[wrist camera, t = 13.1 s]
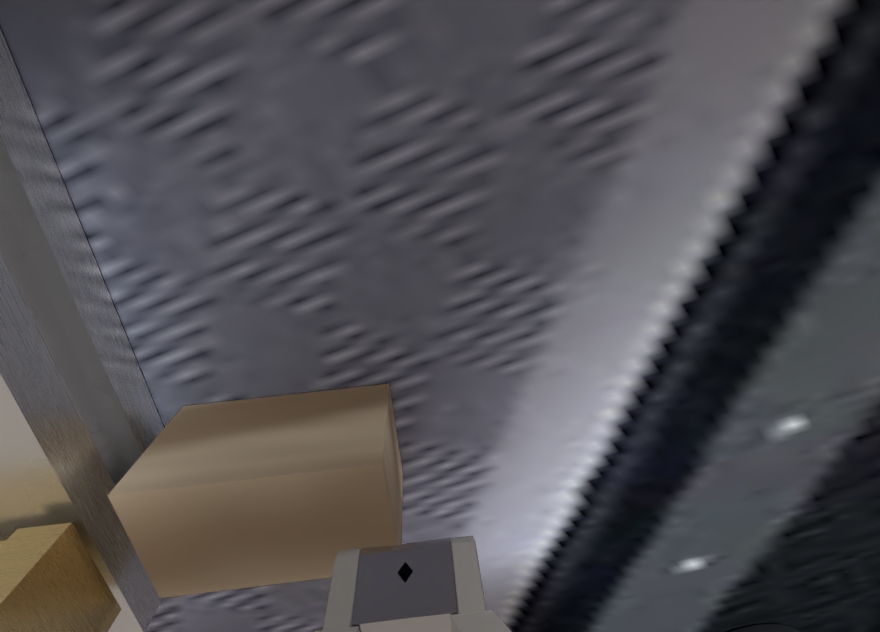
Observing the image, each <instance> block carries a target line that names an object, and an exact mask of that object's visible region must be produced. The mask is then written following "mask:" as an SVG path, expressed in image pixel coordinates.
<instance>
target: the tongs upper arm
mask: <svg viewBox="0 0 880 632" xmlns="http://www.w3.org/2000/svg"><path fill="white" fill-rule="evenodd" d="M114 487H115V484H114V482H113V480H112V478H111V476H110V474H109V472H108V470H107V468H106V466H105V464H104V462H103V460H102V458H101V456H100V454H99V452H98V450H97V448H96V446H95V444H94V442H93V440H92V438H91V436H90V433H89V431H88V429H87V427H86V425H85V423H84V421H83V419H82V417H81V415H80V413H79V411H78V409H77V407H76V405H75V403H74V401H73V399H72V397H71V395H70V393H69V391H68V389H67V387H66V385H65V383H64V381H63V379H62V377H61V375H60V373H59V371H58V369H57V366H56V364H55V362H54V360H53V358H52V356H51V354H50V352H49V350H48V348H47V346H46V344H45V342H44V340H43V338H42V336H41V334H40V332H39V330H38V328H37V326H36V324H35V322H34V320H33V318H32V316H31V314H30V312H29V310H28V308H27V306H26V304H25V301H24V299H23V297H22V295H21V293H20V291H19V289H18V287H17V285H16V283H15V281H14V279H13V277H12V275H11V273H10V271H9V269H8V267H7V265H6V263H5V261H4V259H3V257H2V255H1V253H0V541H5V540H7V539H8V538H9V537H10V536H11V535H12V534H13V533H14V532H15V531H16V530H17V529H20V528H29V527H37V526H46V525H54V524H63V523H72V524H73V525H74V527H75V529H76V531H77V532H78V534H79V536H80V537H81V539H82V541H83V543H84V544H85V546H86V548H87V550H88V551H89V553H90V555H91V557H92V558H93V560H94V562H95V564H96V565H97V567H98V569H99V571H100V572H101V574H102V576H103V578H104V579H105V581H106V583H107V585H108V586H109V588H110V590H111V592H112V593H113V595H114V597H115V599H116V600H117V602H118V604H119V606H120V607H121V611H120V613H119V614H118V616H117V617H116V619H115V621H114V622H113V624H112V626H111V627H110V629H109V631H108V632H145V631H146V629H147V627H148V625H149V623H150V621H151V619H152V618H153V616H154V614H155V612H156V610H157V608H158V606H159V605H160V603H161V601H162V599H163V598H160V597H159V595H158V593H157V591H156V589H155V587H154V585H153V583H152V582H151V580H150V578H149V576H148V574H147V572H146V570H145V568H144V566H143V564H142V562H141V560H140V558H139V556H138V554H137V552H136V550H135V548H134V546H133V544H132V542H131V540H130V539H129V537H128V535H127V533H126V531H125V529H124V527H123V525H122V523H121V521H120V519H119V517H118V515H117V513H116V511H115V509H114V507H113V505H112V503H111V501H110V499H109V497H108V494H109V493H110V492H111V491H112V490H113V488H114Z"/></svg>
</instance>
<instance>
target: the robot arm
mask: <svg viewBox="0 0 880 632" xmlns="http://www.w3.org/2000/svg"><path fill="white" fill-rule="evenodd" d="M451 548H452V549H451ZM452 558H453V559H452ZM453 568H454V569H453ZM315 632H511V630H510V629H509V628H508V627H507V626H506V624H505V623H504V622H503V621H502V620H501V618H500V617H499V616H498V615H497V614H496V612H495V611H494V610H486V605H485V599H484V593H483V587H482V581H481V574H480V568H479V562H478V556H477V550H476V543H475V539H474V537H473V536H465V537H457V538H451V541H450V538H444V539H436V540H429V541H421V542H413V543H406V544H405V545H393V546H381V547H369V548H359V549H349V550H339V551H338V553H337V555H336V557H335V561H334V567H333V573H332V578H331V584H330V589H329V595H328V601H327V606H326V612H325V617H324V623H323V629H322V630H319V631H315Z"/></svg>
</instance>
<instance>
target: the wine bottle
mask: <svg viewBox="0 0 880 632" xmlns="http://www.w3.org/2000/svg"><path fill="white" fill-rule="evenodd" d="M729 632H800V631H798V630H797V629H795V628H793V627H789V626H784V625H780V624H756V625H751V626H747V627H743V628H738V629H734V630H732V631H729Z"/></svg>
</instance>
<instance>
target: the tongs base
mask: <svg viewBox="0 0 880 632" xmlns="http://www.w3.org/2000/svg"><path fill="white" fill-rule="evenodd" d="M0 253H1V255H2V257H3V259H4V261H5V263H6V265H7V267H8V269H9V271H10V273H11V275H12V277H13V279H14V281H15V283H16V285H17V287H18V289H19V291H20V293H21V295H22V297H23V299H24V301H25V304H26V306H27V308H28V310H29V312H30V314H31V316H32V318H33V320H34V322H35V324H36V326H37V328H38V330H39V332H40V334H41V336H42V338H43V340H44V342H45V344H46V346H47V348H48V350H49V352H50V354H51V356H52V358H53V360H54V362H55V364H56V366H57V369H58V371H59V373H60V375H61V377H62V379H63V381H64V383H65V385H66V387H67V389H68V391H69V393H70V395H71V397H72V399H73V401H74V403H75V405H76V407H77V409H78V411H79V413H80V415H81V417H82V419H83V421H84V423H85V425H86V427H87V429H88V431H89V433H90V436H91V438H92V440H93V442H94V444H95V446H96V448H97V450H98V452H99V454H100V456H101V458H102V460H103V462H104V464H105V466H106V468H107V470H108V472H109V474H110V476H111V478H112V480H113V482H114V484H115V486H116V485H117V484H118V482H119V481H120V480H121V479H122V478H123V477H124V475H125V474H126V473H127V472H128V471H129V469H130V468H131V467H132V466H133V465H134V463H135V462H136V461H137V460H138V459H139V458H140V456H141V455H142V454H143V453H144V452H145V450H146V449H147V448H148V447H149V446H150V444H151V443H152V442H153V441H154V440H155V439H156V437H157V436H158V435H159V434H160V433H161V431H162V430H163V429H164V426H163V423H162V421H161V419H160V416H159V414H158V411H157V409H156V406H155V404H154V401H153V399H152V397H151V394H150V392H149V389H148V387H147V384H146V382H145V380H144V377H143V375H142V372H141V370H140V367H139V365H138V362H137V360H136V358H135V355H134V353H133V350H132V348H131V345H130V343H129V341H128V338H127V336H126V333H125V331H124V328H123V326H122V324H121V321H120V319H119V316H118V314H117V311H116V309H115V306H114V304H113V302H112V299H111V297H110V294H109V292H108V289H107V287H106V285H105V282H104V280H103V277H102V275H101V272H100V270H99V267H98V265H97V263H96V260H95V258H94V255H93V253H92V250H91V248H90V246H89V243H88V241H87V238H86V236H85V233H84V231H83V229H82V226H81V224H80V221H79V219H78V216H77V214H76V211H75V209H74V207H73V204H72V202H71V199H70V197H69V194H68V192H67V190H66V187H65V185H64V182H63V180H62V177H61V175H60V172H59V170H58V168H57V165H56V163H55V160H54V158H53V155H52V153H51V151H50V148H49V146H48V143H47V141H46V138H45V136H44V134H43V131H42V129H41V126H40V124H39V121H38V119H37V116H36V114H35V112H34V109H33V107H32V104H31V102H30V99H29V97H28V95H27V92H26V90H25V87H24V85H23V82H22V80H21V77H20V75H19V73H18V70H17V68H16V65H15V63H14V60H13V58H12V56H11V53H10V51H9V48H8V46H7V43H6V41H5V38H4V36H3V34H2V31H1V29H0Z"/></svg>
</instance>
